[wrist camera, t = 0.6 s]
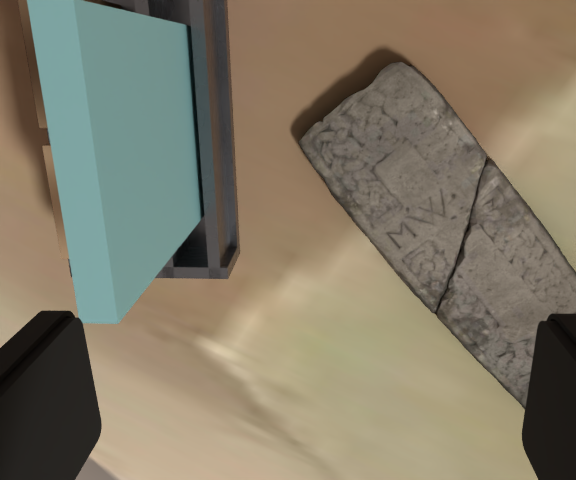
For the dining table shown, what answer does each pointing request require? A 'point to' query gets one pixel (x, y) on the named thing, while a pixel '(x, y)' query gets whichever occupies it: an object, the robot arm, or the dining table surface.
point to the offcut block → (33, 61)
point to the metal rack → (206, 137)
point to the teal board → (119, 145)
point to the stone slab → (444, 219)
